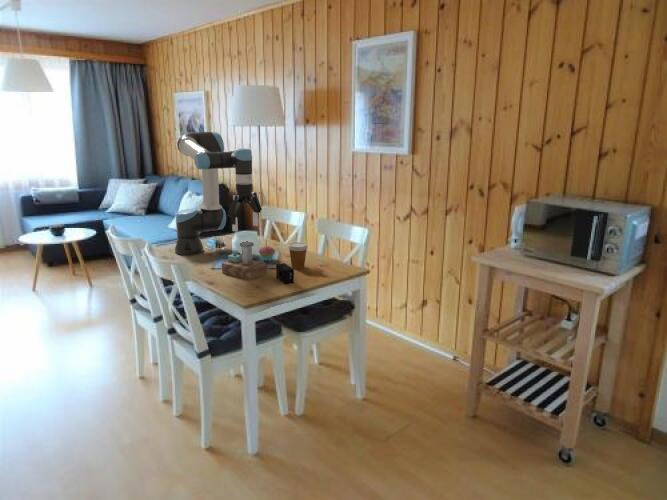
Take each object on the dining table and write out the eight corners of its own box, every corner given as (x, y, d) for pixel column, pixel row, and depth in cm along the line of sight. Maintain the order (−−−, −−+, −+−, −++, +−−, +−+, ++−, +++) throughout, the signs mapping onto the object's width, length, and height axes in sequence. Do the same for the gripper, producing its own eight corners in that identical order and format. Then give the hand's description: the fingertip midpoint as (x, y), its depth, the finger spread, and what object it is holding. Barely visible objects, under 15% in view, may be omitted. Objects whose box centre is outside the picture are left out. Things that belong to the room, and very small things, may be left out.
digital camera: (274, 278, 217) (273, 264, 215) (284, 276, 219) (284, 262, 217) (283, 285, 208) (282, 270, 206) (293, 283, 211) (293, 268, 209)
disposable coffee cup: (304, 271, 227) (304, 247, 224) (286, 269, 229) (285, 246, 226) (309, 265, 236) (309, 242, 233) (291, 263, 238) (291, 241, 235)
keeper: (228, 260, 224) (228, 254, 223) (234, 258, 227) (233, 252, 226) (235, 262, 221) (235, 255, 220) (241, 260, 224) (241, 253, 224)
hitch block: (222, 272, 222) (221, 261, 221) (239, 266, 232) (238, 255, 230) (250, 280, 213) (250, 268, 212) (266, 273, 223) (266, 262, 221)
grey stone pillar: (240, 274, 221) (239, 243, 216) (247, 271, 225) (246, 241, 220) (248, 276, 219) (247, 244, 214) (254, 273, 222) (253, 242, 218)
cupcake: (273, 262, 240) (273, 240, 236) (257, 262, 240) (257, 239, 237) (276, 257, 248) (275, 236, 245) (260, 257, 248) (259, 235, 245)
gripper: (230, 187, 197) (232, 234, 203) (268, 181, 218) (269, 224, 224) (217, 185, 201) (220, 232, 207) (256, 179, 221) (257, 222, 227)
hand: (245, 228), depth 215 cm, fingers open, 13 cm apart
